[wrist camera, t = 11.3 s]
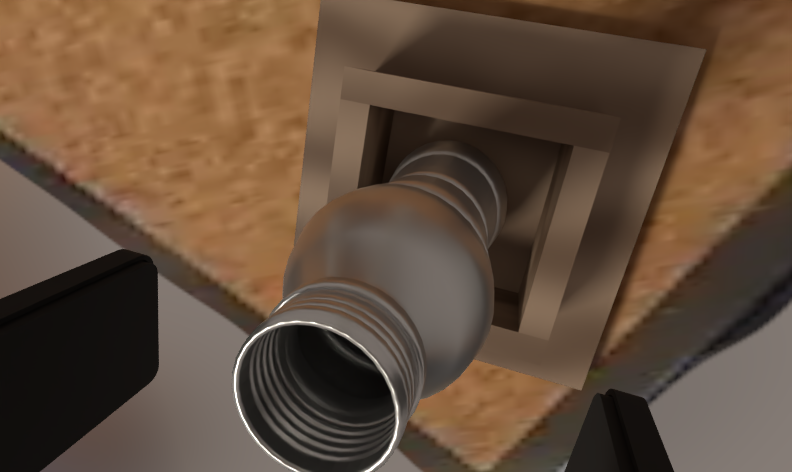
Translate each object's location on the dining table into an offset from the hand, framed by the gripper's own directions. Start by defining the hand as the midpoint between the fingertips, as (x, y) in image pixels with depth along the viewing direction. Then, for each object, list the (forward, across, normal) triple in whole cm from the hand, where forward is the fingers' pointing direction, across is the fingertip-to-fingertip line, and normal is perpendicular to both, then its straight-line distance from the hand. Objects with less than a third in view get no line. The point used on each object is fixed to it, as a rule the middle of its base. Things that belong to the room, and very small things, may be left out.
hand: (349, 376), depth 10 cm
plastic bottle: (+19, 0, +1) cm, 19 cm away
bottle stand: (+21, 0, +1) cm, 21 cm away
